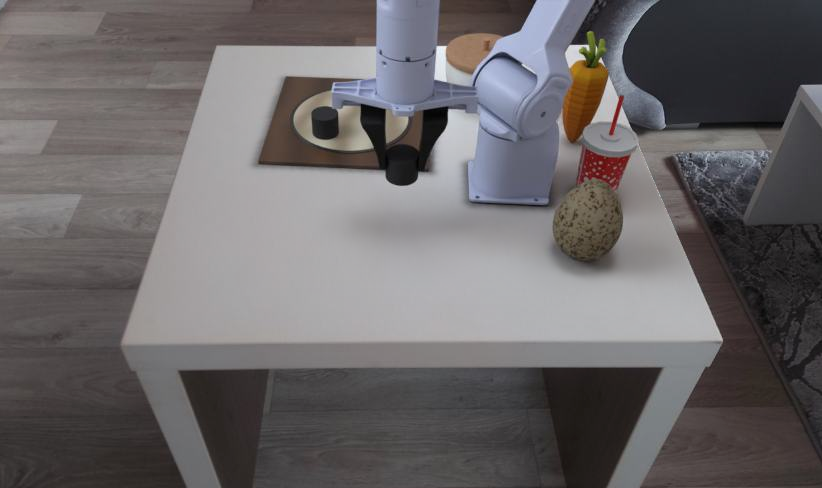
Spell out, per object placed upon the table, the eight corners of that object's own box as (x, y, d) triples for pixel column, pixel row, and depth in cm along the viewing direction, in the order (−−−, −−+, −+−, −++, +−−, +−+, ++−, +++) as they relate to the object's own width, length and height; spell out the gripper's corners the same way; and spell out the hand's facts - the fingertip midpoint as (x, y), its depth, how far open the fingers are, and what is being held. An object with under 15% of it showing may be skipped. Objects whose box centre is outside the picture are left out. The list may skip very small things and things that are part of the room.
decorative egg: (621, 273, 75) (647, 201, 68) (556, 277, 75) (576, 205, 68) (599, 230, 80) (621, 158, 73) (538, 234, 80) (555, 162, 73)
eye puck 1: (340, 125, 95) (339, 106, 93) (337, 140, 93) (336, 121, 90) (314, 124, 95) (313, 105, 93) (310, 139, 93) (309, 119, 91)
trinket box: (436, 115, 98) (441, 53, 91) (447, 78, 105) (453, 18, 99) (512, 124, 96) (523, 61, 90) (518, 86, 104) (529, 25, 97)
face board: (430, 84, 104) (431, 80, 104) (428, 171, 88) (428, 167, 88) (286, 79, 105) (285, 75, 105) (258, 164, 90) (257, 159, 89)
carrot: (591, 155, 91) (620, 47, 80) (552, 151, 92) (576, 44, 81) (589, 134, 94) (617, 28, 84) (552, 130, 95) (575, 25, 85)
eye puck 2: (418, 167, 77) (419, 144, 75) (417, 186, 75) (419, 163, 73) (386, 165, 78) (386, 143, 76) (384, 185, 75) (384, 162, 73)
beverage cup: (626, 212, 83) (661, 108, 73) (577, 217, 82) (606, 113, 72) (606, 181, 87) (636, 79, 77) (559, 186, 86) (584, 84, 76)
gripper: (325, 65, 63) (331, 185, 73) (485, 70, 63) (470, 190, 72) (333, 31, 68) (338, 146, 78) (481, 34, 68) (467, 151, 77)
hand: (401, 165), depth 75 cm, fingers closed on eye puck 2, 3 cm apart
